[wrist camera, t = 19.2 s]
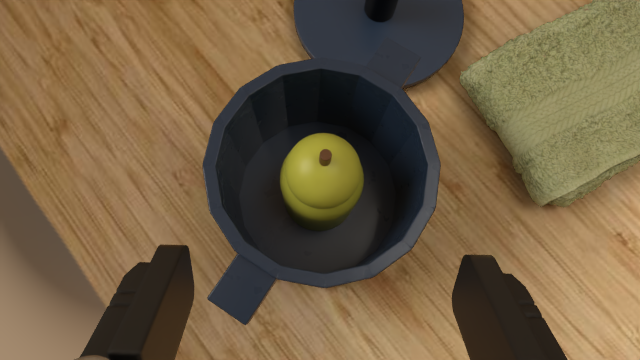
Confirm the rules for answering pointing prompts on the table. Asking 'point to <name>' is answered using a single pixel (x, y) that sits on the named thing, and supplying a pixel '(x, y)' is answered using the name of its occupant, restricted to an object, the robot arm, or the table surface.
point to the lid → (381, 30)
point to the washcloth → (566, 99)
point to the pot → (276, 143)
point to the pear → (321, 181)
